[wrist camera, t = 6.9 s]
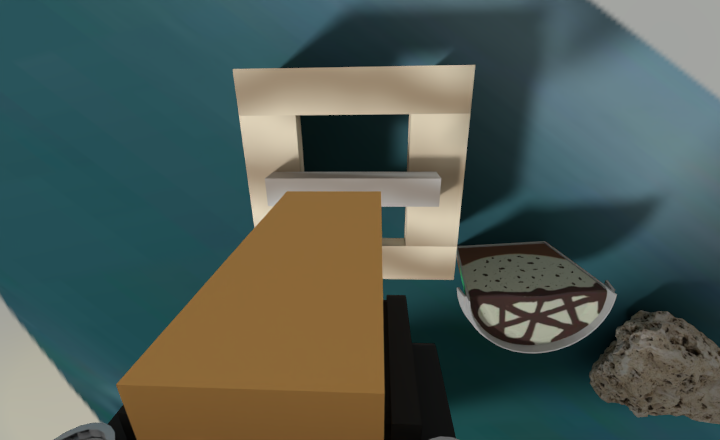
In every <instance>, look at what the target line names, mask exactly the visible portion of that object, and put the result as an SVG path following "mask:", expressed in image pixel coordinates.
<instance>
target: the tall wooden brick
mask: <svg viewBox="0 0 720 440" xmlns="http://www.w3.org/2000/svg"><path fill="white" fill-rule="evenodd" d="M116 386H117V388H118V391H119V394H120V396H121V399H122V402H123V404H124V407H125V410H126V412H127V415H128V418H129V420H130V423H131V426H132V428H133V431H134V434H135V436H136V439H137V440H384V399H385V389H384V332H383V275H382V218H381V191H287V192H286V193H285V194H284V195H283V196H282V197H281V199H280V200H279V201H278V202H277V203H276V204H275V205H274V206H273V208H272V209H271V210H270V211H269V212H268V213H267V214H266V216H265V217H264V218H263V219H262V220H261V221H260V222H259V223H258V225H257V226H256V227H255V228H254V229H253V230H252V231H251V233H250V234H249V235H248V236H247V237H246V238H245V239H244V240H243V242H242V243H241V244H240V245H239V246H238V247H237V248H236V250H235V251H234V252H233V253H232V254H231V255H230V256H229V257H228V259H227V260H226V261H225V262H224V263H223V264H222V265H221V266H220V268H219V269H218V270H217V271H216V272H215V273H214V274H213V276H212V277H211V278H210V279H209V280H208V281H207V282H206V283H205V285H204V286H203V287H202V288H201V289H200V290H199V291H198V293H197V294H196V295H195V296H194V297H193V298H192V299H191V300H190V302H189V303H188V304H187V305H186V306H185V307H184V308H183V310H182V311H181V312H180V313H179V314H178V315H177V316H176V317H175V319H174V320H173V321H172V322H171V323H170V324H169V325H168V327H167V328H166V329H165V330H164V331H163V332H162V333H161V334H160V336H159V337H158V338H157V339H156V340H155V341H154V342H153V344H152V345H151V346H150V347H149V348H148V349H147V350H146V351H145V353H144V354H143V355H142V356H141V357H140V358H139V359H138V361H137V362H136V363H135V364H134V365H133V366H132V367H131V368H130V370H129V371H128V372H127V373H126V374H125V375H124V376H123V377H122V379H121V380H120V381H119V382H118V383H117V384H116Z"/></svg>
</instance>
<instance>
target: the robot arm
mask: <svg viewBox="0 0 720 440" xmlns="http://www.w3.org/2000/svg"><path fill="white" fill-rule="evenodd" d="M383 332H384V389H385V399H384V440H458V439H456V437H455V432H454V428H453V423H452V419H451V414H450V409H449V405H448V400H447V396H446V391H445V386H444V382H443V377H442V372H441V368H440V363H439V359H438V354H437V350H436V346H435V344H433V343H412V342H411V334H410V326H409V318H408V310H407V302H406V296H405V295H387V300H383ZM54 440H137V439H136V436H135V434H134V431H133V428H132V426H131V423H130V420H129V418H128V415H127V412H126V410H125V407H124V405H123V406H122V407H121V408H120V410H119V411H118V412H117V413H116V415H115V416H114V417H113V418H112V420H111V421H110V422H109V423H108V424H105V423H90V424H86V425H81V426H78V427H76V428H74V429H72V430H69V431H67V432H65V433H63V434H62V435H60V436H59V437H57V438H56V439H54Z"/></svg>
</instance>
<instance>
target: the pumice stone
mask: <svg viewBox="0 0 720 440" xmlns="http://www.w3.org/2000/svg"><path fill="white" fill-rule="evenodd" d="M615 337H616V338H617V341H613V342H612V343H611V344H610V346H609V347H608V348H607V349H606V350H605V351H604V354H601V355H600V357H599V359H598V360H597V361H596V362H595V363H594V364H593V366H592V370H591V371H590V373H589V377H590V379H591V381H590V384H591V386H592V387H593V389H594V390H595V392H596V393H597V394H598V396H599V397H600V398H601V399H603V400H604V401H606V402H608V403H610V402H616V403H620V404H621V405H624V404H625V405H626V406H628V407H629V409H630V410H631V411H632V412H633V414H634V415H636V416H637V417H647V416H648V414H649V415H655V416H657V415H668V414H670V415H674V416H680V415H685V416H687V417H689V418H691V419H693V420H696V421H703V422H708V423H715V424H720V348H719V347H718V346H717V345H716V344H715V343H714V342H713V341H712V340H710V339H709V338H707V337H706V336H705V335H704V334H703V333H702V332H699V331H698V330H697V329H696V328H695V327H694V326H693V325H691V324H689V323H687V322H686V321H685V320H684V319H682V318H676V317H674V316H673V315H672V314H671V313H669V312H668V311H656V312H651V313H650V312H646V311H642V310H640V311H639V312H637V313H636V314H635V315H634V316H631V319H630V320H629V321H626V322H625V323H624V325H622V326H619V327H617V329H616V335H615Z"/></svg>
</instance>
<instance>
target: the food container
mask: <svg viewBox="0 0 720 440" xmlns="http://www.w3.org/2000/svg"><path fill="white" fill-rule="evenodd" d="M456 258H457V262H458V267H459V271H460V275H461V279H462V284H463V288H464V292H465V295H464V293H463V292H462V291H461V290H460V288H459V287H458V288H457V295H458V300H459V303H460V306H461V308H462V310H463V312H464V314H465V316H466V317H467V318H468V320H469V321H470V322H471V323H472V325H473V326H474V327H475V329H476V330H477V331H478V332H479V333H480V334H481V335H482V336H484V337H485V338H487V339H488V340H489V341H491V342H493V343H494V344H496V345H498V346H500V347H502V348H504V349H507V350H511V351H514V352H521V353H544V352H550V351H555V350H559V349H562V348H565V347H568V346H570V345H572V344H574V343H576V342H578V341H580V340H581V339H583V338H585V337H586V336H588V335H589V334H590V333H591V332H593V331H594V330H595V329H596V328H597V327H598V326H599V325H600V324H601V323H602V322H603V321H604V320H605V318H606V317H607V315H608V314H609V313H610V311H611V309H612V307H613V305H614V302H615V299H616V296H617V294H616V293H615V289H614V288H613V287H612V285H611V284H610V283H609V281H608V280H605V284H603V283H602V282H600V281H599V280H598V279H596V278H595V277H593V276H592V275H591V274H589V273H588V272H587V271H585V270H584V269H583V268H581V267H580V266H578V265H577V264H576V263H574V262H573V261H572V260H570V259H569V258H568V257H566V256H565V255H563V254H562V253H561V252H559V251H558V250H557V249H555V248H554V247H553V246H551V245H550V244H548V243H547V242H546V241H537V242H520V243H503V244H485V245H468V246H457V251H456Z"/></svg>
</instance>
